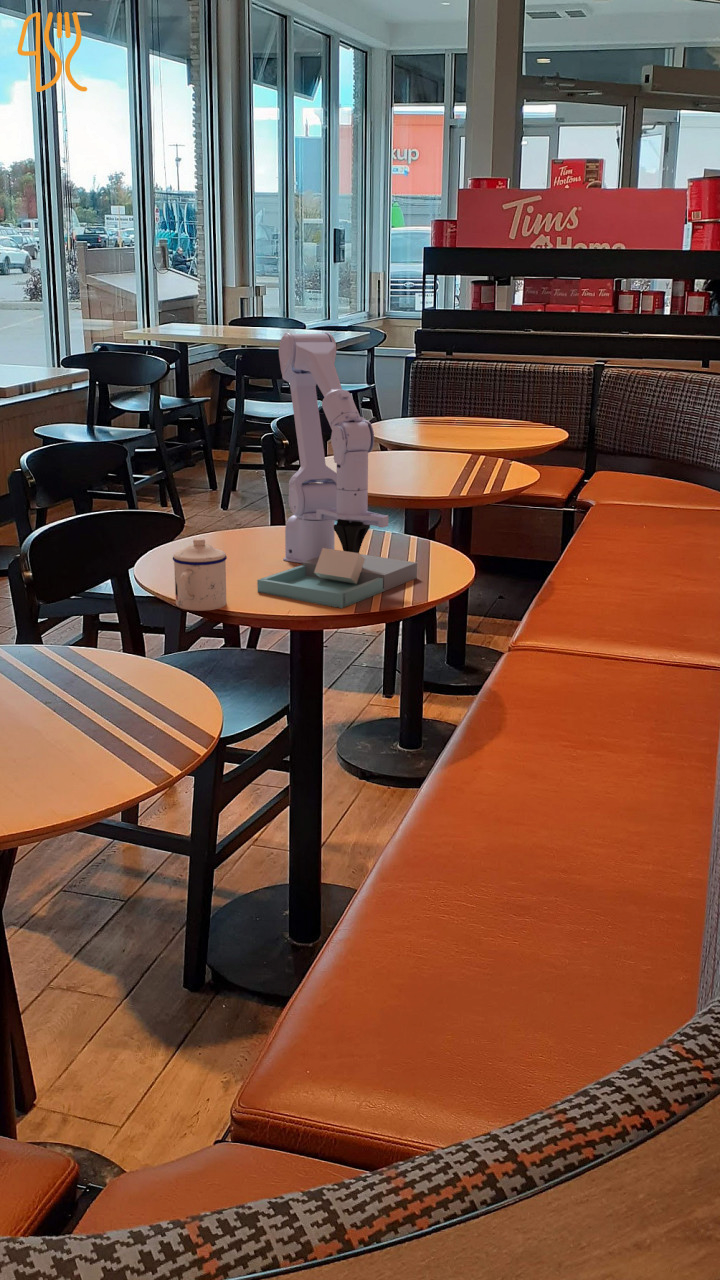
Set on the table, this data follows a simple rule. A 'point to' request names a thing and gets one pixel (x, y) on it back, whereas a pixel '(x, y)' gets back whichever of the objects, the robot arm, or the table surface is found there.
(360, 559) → the cream tile
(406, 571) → the bench plate
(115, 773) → the table surface
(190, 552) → the teacup with lid
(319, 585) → the tray
